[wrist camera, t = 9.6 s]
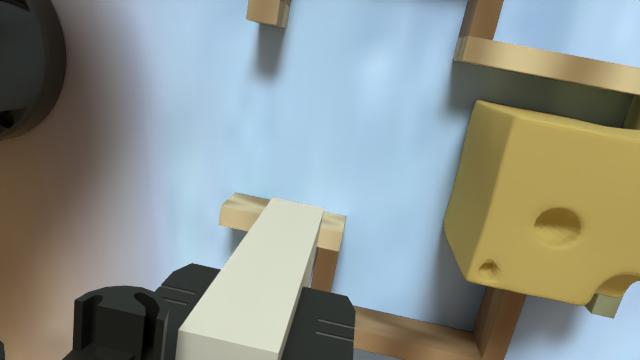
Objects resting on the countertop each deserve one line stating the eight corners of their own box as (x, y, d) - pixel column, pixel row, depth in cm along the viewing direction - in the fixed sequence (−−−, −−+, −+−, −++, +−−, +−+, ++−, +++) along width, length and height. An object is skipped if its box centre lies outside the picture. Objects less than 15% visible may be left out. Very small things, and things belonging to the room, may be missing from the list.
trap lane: (221, 291, 39) (202, 320, 35) (279, -118, 30) (263, -147, 26) (552, 367, 37) (576, 408, 33) (711, -43, 29) (770, -61, 24)
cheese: (572, 254, 35) (648, 329, 25) (431, 224, 35) (453, 286, 26) (622, 120, 32) (729, 147, 22) (468, 90, 33) (508, 103, 23)
